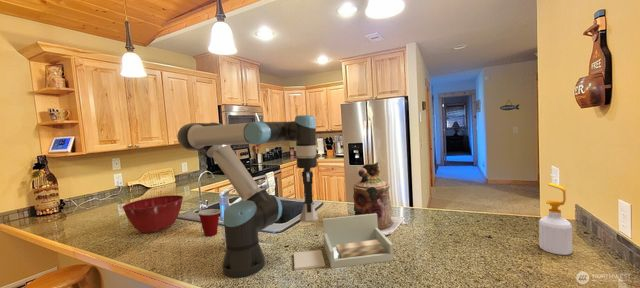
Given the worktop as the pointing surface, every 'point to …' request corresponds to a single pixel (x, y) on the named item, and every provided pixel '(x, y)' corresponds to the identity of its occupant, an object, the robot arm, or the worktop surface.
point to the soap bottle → (555, 228)
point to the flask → (303, 218)
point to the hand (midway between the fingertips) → (308, 217)
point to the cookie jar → (375, 199)
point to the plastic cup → (209, 221)
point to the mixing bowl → (153, 213)
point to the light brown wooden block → (359, 249)
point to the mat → (308, 260)
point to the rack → (355, 238)
